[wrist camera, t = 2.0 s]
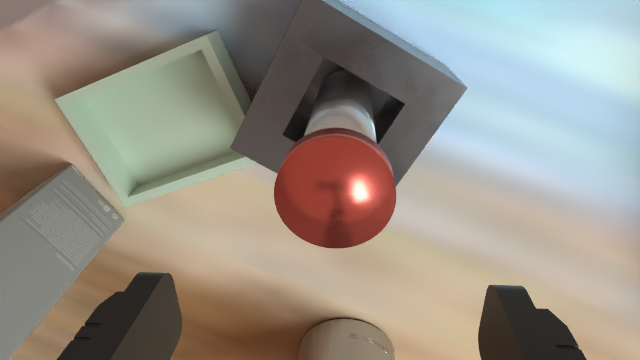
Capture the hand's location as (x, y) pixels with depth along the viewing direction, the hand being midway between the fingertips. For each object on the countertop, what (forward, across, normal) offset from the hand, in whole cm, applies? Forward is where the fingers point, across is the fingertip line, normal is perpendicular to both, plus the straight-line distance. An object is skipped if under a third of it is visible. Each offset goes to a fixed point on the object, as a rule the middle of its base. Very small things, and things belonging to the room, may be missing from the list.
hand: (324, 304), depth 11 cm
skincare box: (+21, +24, +11) cm, 33 cm away
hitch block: (+21, 0, 0) cm, 21 cm away
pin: (+20, 0, 0) cm, 20 cm away
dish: (+21, +13, +2) cm, 25 cm away
